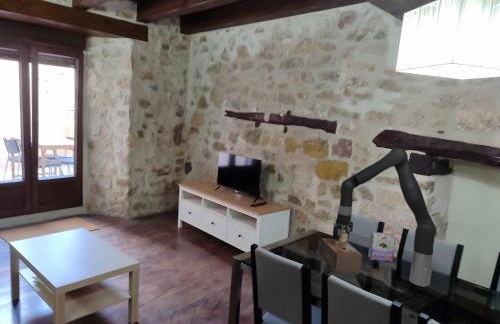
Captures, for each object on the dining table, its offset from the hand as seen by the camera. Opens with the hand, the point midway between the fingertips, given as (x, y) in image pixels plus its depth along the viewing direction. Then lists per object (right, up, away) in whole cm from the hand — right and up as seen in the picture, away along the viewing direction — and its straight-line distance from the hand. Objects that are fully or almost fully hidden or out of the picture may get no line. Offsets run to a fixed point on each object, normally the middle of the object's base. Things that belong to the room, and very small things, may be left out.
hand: (341, 239), depth 208 cm
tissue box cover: (-1, -14, +2) cm, 14 cm away
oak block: (0, -4, 0) cm, 4 cm away
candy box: (+26, -15, +11) cm, 32 cm away
